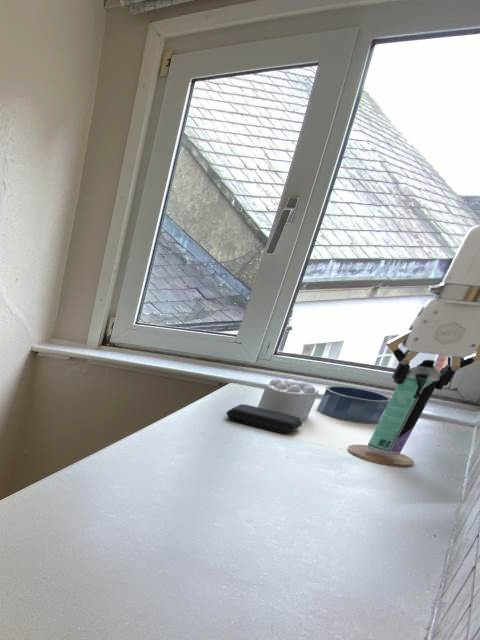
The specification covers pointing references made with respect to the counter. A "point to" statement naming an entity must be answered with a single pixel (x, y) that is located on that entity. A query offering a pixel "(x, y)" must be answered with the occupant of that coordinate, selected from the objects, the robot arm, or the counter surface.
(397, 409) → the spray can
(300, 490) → the counter surface
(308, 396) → the white pebble pot
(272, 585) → the counter surface
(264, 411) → the carrying case
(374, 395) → the bowl
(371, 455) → the coaster
